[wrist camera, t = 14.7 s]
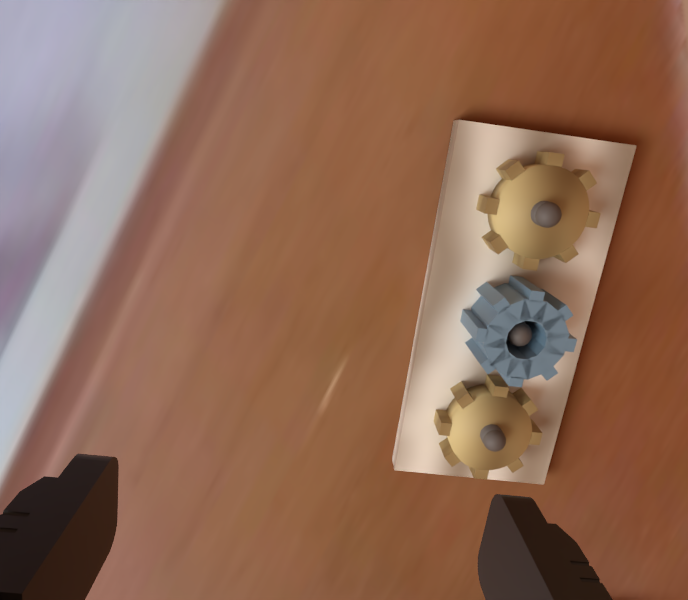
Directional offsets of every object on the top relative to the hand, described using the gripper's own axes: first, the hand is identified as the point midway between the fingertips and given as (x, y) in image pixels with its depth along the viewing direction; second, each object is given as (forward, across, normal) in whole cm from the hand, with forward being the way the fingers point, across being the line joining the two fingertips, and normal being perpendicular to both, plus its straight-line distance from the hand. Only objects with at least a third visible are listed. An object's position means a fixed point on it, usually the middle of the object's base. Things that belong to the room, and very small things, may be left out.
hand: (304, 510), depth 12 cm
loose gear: (+27, -14, +3) cm, 30 cm away
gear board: (+28, -14, +3) cm, 32 cm away
